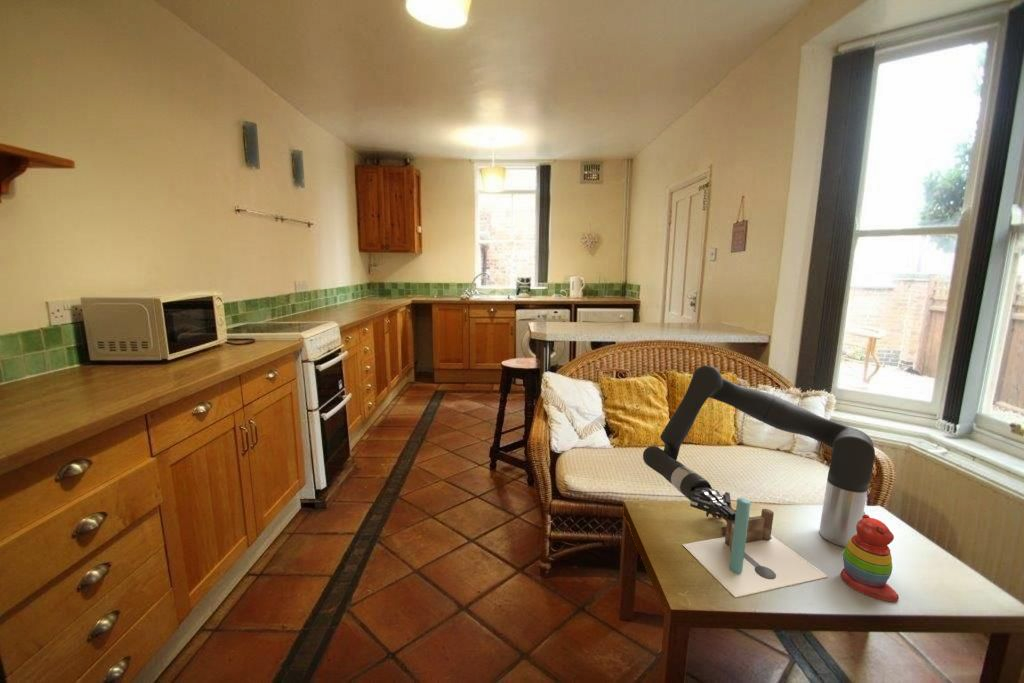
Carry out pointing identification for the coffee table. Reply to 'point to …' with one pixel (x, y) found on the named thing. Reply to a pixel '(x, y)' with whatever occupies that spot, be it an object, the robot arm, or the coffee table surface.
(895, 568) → the coffee table surface
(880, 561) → the stacking bear
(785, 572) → the card
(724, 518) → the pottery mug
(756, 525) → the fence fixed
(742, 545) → the l-shaped post
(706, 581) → the coffee table surface
